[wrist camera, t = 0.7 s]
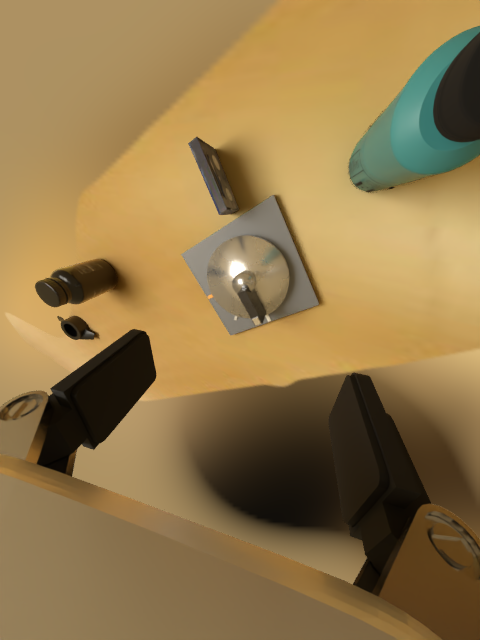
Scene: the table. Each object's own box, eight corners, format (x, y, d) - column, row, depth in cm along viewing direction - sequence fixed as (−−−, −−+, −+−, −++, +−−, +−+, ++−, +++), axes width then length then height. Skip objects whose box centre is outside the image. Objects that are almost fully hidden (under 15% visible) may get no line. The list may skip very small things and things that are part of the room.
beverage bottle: (338, 193, 27) (397, 168, 10) (354, 126, 24) (478, -74, 7) (393, 194, 26) (568, 167, 9) (418, 124, 22) (770, -137, 5)
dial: (195, 259, 36) (179, 267, 31) (266, 216, 30) (259, 218, 25) (233, 324, 40) (224, 339, 35) (302, 299, 34) (302, 313, 29)
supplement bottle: (86, 268, 45) (23, 285, 35) (102, 252, 42) (37, 266, 32) (108, 294, 47) (54, 318, 37) (124, 280, 44) (70, 302, 33)
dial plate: (274, 195, 29) (273, 194, 28) (318, 302, 35) (319, 305, 34) (184, 253, 37) (180, 254, 36) (231, 332, 42) (230, 335, 41)
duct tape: (72, 303, 52) (61, 308, 50) (100, 334, 55) (91, 340, 52) (61, 315, 56) (49, 320, 53) (88, 343, 58) (78, 349, 56)
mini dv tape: (206, 155, 29) (186, 144, 24) (215, 149, 28) (196, 136, 23) (230, 214, 32) (217, 215, 27) (239, 209, 31) (226, 209, 26)
